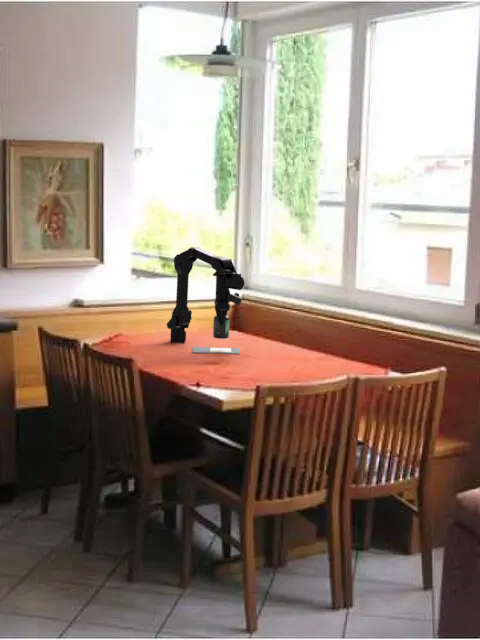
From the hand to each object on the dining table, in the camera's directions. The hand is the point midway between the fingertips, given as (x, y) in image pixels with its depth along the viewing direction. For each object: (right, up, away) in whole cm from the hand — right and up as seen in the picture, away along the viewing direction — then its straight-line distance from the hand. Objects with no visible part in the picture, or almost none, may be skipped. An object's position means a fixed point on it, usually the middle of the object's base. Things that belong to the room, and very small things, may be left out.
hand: (221, 323), depth 406 cm
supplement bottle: (0, -6, +1) cm, 6 cm away
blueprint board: (-2, -12, +2) cm, 12 cm away
